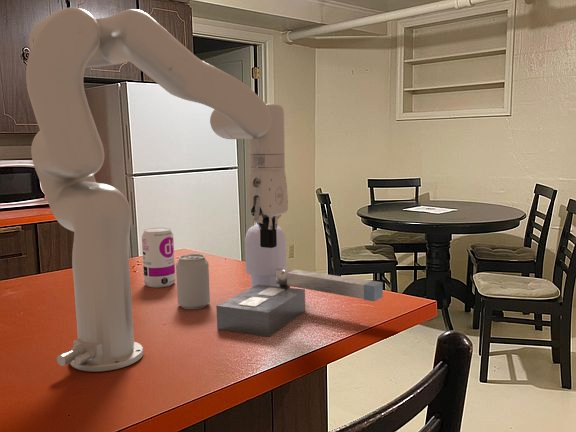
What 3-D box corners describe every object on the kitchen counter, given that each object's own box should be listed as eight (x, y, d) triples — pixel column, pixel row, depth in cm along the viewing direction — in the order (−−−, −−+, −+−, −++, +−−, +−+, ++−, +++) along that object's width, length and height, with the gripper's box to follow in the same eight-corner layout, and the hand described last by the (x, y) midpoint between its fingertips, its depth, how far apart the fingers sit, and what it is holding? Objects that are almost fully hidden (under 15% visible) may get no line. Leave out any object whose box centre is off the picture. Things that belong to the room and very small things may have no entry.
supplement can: (181, 282, 154) (179, 228, 152) (159, 289, 147) (156, 233, 145) (160, 279, 158) (157, 226, 156) (138, 285, 152) (134, 230, 150)
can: (203, 311, 128) (201, 259, 127) (172, 309, 130) (170, 258, 128) (214, 301, 136) (212, 252, 134) (185, 300, 137) (182, 252, 135)
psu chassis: (269, 336, 111) (268, 311, 110) (217, 329, 116) (216, 304, 115) (312, 306, 131) (311, 283, 130) (266, 300, 136) (265, 279, 135)
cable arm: (382, 296, 118) (383, 282, 118) (373, 301, 115) (374, 286, 114) (282, 280, 134) (282, 266, 133) (272, 283, 130) (272, 270, 130)
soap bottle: (263, 301, 135) (261, 201, 132) (238, 292, 143) (235, 198, 140) (295, 292, 142) (293, 197, 139) (269, 285, 150) (267, 195, 146)
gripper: (266, 164, 112) (268, 254, 115) (297, 161, 126) (298, 242, 128) (234, 164, 115) (236, 252, 118) (267, 161, 129) (268, 240, 131)
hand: (268, 246), depth 123 cm, fingers closed
